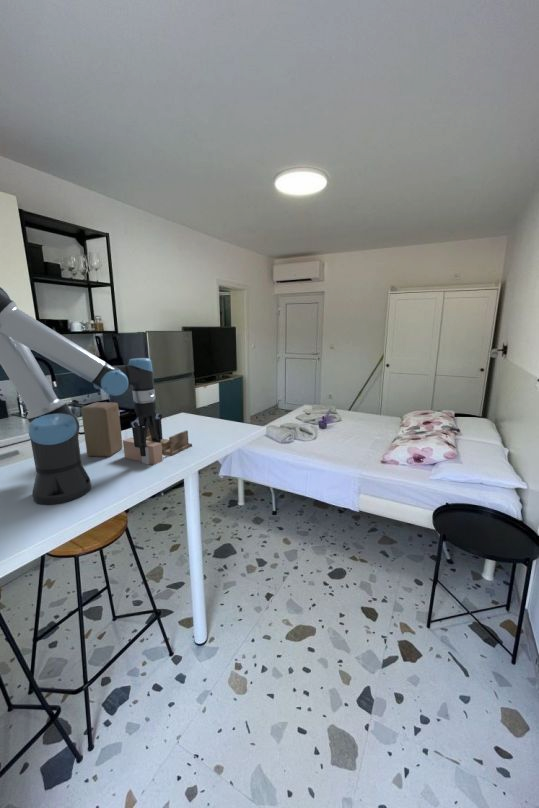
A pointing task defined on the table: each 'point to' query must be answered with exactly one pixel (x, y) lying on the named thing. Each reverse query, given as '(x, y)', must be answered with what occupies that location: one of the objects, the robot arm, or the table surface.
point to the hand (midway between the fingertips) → (151, 461)
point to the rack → (173, 443)
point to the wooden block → (102, 428)
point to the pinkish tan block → (134, 452)
